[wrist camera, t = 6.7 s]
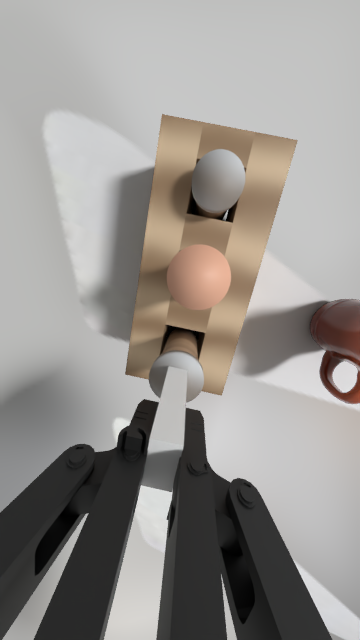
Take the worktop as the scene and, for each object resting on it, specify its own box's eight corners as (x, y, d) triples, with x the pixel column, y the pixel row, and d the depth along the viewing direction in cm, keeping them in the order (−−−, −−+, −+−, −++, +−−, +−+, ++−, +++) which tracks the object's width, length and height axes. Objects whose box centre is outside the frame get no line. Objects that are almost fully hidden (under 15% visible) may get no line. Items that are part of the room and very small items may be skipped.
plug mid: (181, 253, 21) (173, 238, 12) (219, 261, 21) (238, 251, 12) (173, 292, 22) (161, 303, 13) (210, 299, 22) (221, 315, 13)
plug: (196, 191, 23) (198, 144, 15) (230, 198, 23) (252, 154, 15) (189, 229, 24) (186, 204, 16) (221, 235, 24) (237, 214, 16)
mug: (329, 280, 25) (419, 284, 15) (380, 313, 26) (500, 337, 16) (274, 350, 28) (318, 392, 18) (321, 378, 28) (390, 434, 18)
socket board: (171, 161, 23) (162, 114, 16) (266, 180, 23) (297, 140, 16) (140, 351, 29) (125, 374, 23) (214, 367, 29) (221, 395, 22)
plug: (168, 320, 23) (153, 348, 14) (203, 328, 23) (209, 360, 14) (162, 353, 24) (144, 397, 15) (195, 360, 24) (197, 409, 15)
